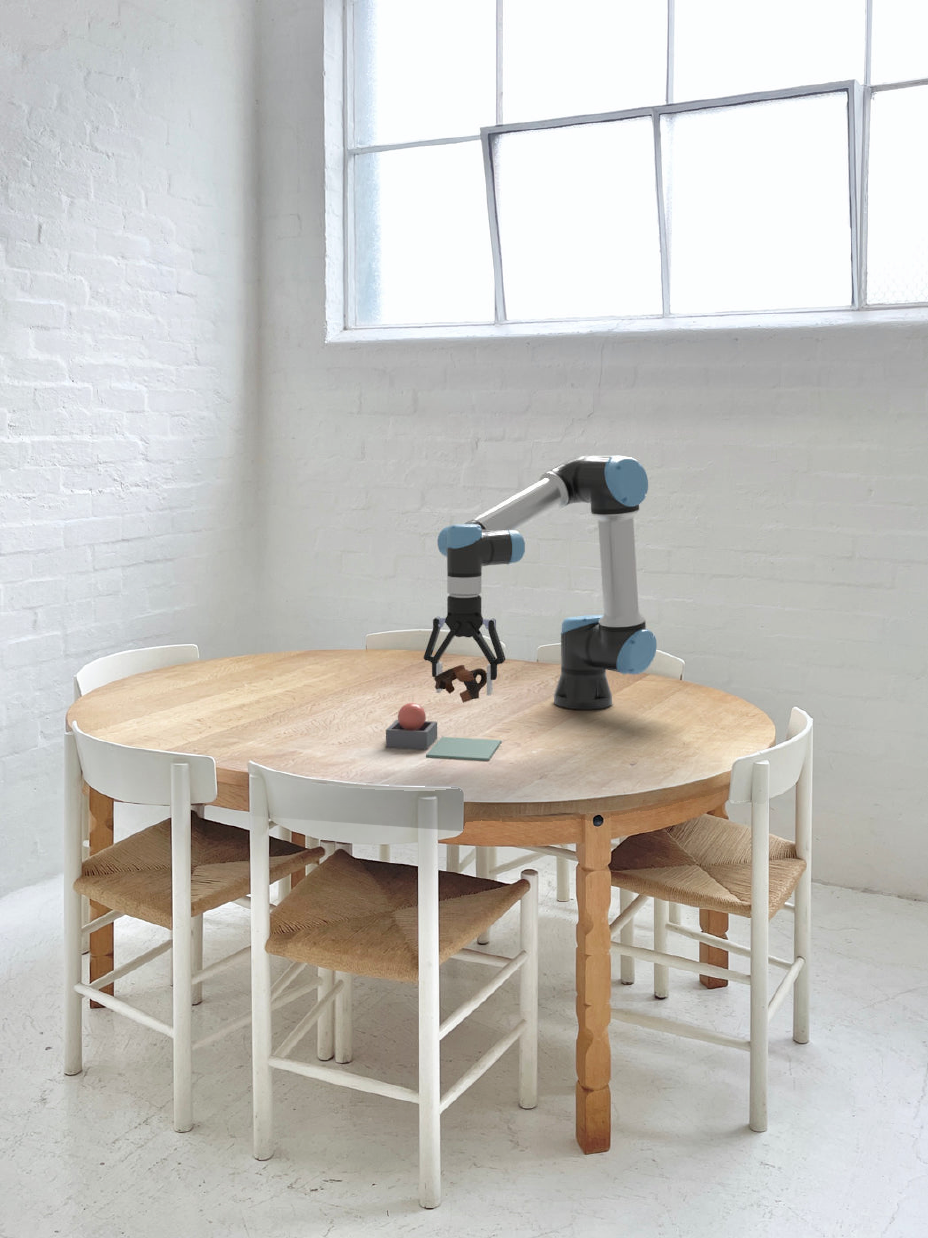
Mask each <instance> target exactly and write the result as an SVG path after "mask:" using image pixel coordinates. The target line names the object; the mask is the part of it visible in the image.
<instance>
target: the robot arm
mask: <svg viewBox="0 0 928 1238" xmlns="http://www.w3.org/2000/svg"><path fill="white" fill-rule="evenodd" d="M648 492H649V479H648V474H647V472H646V469H645V468H644V467H643V464H641V463H640V462H639V461H638V460H637V459H635V458H633V457H629V456H623V455H592V454H591V455H590V454H588V455H581V456H576V457H574V458H571V459H570V460H568V461H565V462H563V463H561V464H559V465H557V466H555V467H553V468H551V469H550V470H548V471H546V472H544V473H543V474H541V476H540V478H539V480H538V481H537V482H535V483H534V484H531V485H530V486H528V487H526V488H524V489H523V490H521V491H520V492H517V493H515V494H514V495H512V496H510V497H509V498H507V499H506V500H503V501H502V502H500V503H499V504H497V505H495V506H493V507H491V508H490V509H488V510H486V511H484V512H483V513H481V514H479V515H477V516H476V517H473V518H472V519H471V520H468V521H467V522H464V523H457V524H455V523H454V524H451V525H450V526H449V525H448V526H445V527H444V528H443V529H441V531H440V532H439V534H438V536H437V537H438V538H437V543H436V544H437V547H438V551H439V552H440V554H441V555H443V556H444V557H445V558H446V568H447V569H446V570H447V573H446V574H447V577H446V579H447V581H446V583H447V584H446V585H447V586H446V587H447V589H446V592H447V594H448V596H447V600H446V601H447V603H446V605H447V606H446V608H447V614H446V617H440V616H436V617H434V618H433V619H432V631H431V634H430V637H429V640H428V642H427V646H426V649H425V652H424V655H423V659H424V661H428V662H430V663H431V676H432V678H435V677H436V676H437V675H439V674H441V673H442V672H443V661H440V659H441V658H442V657H443V656H444V653H445V652H446V650H447V648H448V647H449V646H450V644H451V643H452V641H453V640H454V638H455V637H456V638H461V637H464V638H473V640H474V641H475V642H476V643H477V645H478V647H479V649H480V650H481V652H482V654H483V655H484V657H485V659H486V660H487V661H488V664H487V665H486V673H487V683H486V696H491V695H492V694H493V681H496V680H497V678H498V665H500V664H503V663H504V662H505V661H506V656H505V653H504V650H503V646H502V644H501V643H502V642H501V641H500V638H499V635H498V632H497V620H496V619H495V618H491V619H489V618H488V619H486V618H483V615H482V614H483V613H482V596H481V595H480V594H481V593H482V572H483V571H482V569H483V568H482V567H486V566H497V565H500V566H501V565H510V564H515V563H518V562H520V561H521V560H522V559H523V557H524V555H525V552H526V543H525V539H524V537H523V535H522V534H521V532H518V531H517V530H519V529H521V528H522V527H525V526H526V525H528V524H529V523H531V522H532V521H534V520H536V519H538V518H539V517H541V516H543V515H544V514H547V513H548V512H550V511H552V510H553V509H558V510H560V509H563V508H564V507H567V506H568V505H572V504H579V503H580V504H581V503H588V504H590V513H591V515H592V516H594V518H595V519H596V520H597V523H598V540H599V553H600V554H599V555H600V571H601V572H600V573H601V574H600V575H601V585H602V601H603V602H602V603H603V614H593V615H591V614H589V615H579V616H570V617H567V618H565V619H563V621H562V623H561V632H560V667H561V668H560V675H559V679H558V682H557V685H556V687H555V690H554V694H553V704H555V705H556V706H557V707H561V708H566V709H572V710H589V711H590V710H599V709H600V710H601V709H605V708H609V707H610V706H612V704H613V694H612V691H611V688H610V685H609V684H610V683H609V681H608V677H607V671H612V672H616V673H620V674H623V675H639V674H642V673H643V672H645V671H646V670H647V669H648V668H649V667H650V666H651V663H652V662H653V661H654V659H655V657H656V653H657V648H658V647H657V638H656V636H655V634H654V633H653V632H652V631H651V630H649V629H648V628H647V625H646V618H645V616H644V615H642V614H641V612H640V611H639V610H640V609H639V596H638V594H639V591H638V576H637V558H636V543H635V542H636V541H635V524H634V523H635V522H634V518H635V516H636V515H637V514H638V513H639V511H640V504H642V503H643V501H644V500H645V499H646V495H647V494H648ZM444 624H446V626H447V627H448V629H449V632H448V633H447V635H446V637H445V639H444V640H443V642H442V643H441V644H440V646H439V648H438V649H437V650H436V652H435V654H434V655H433V653H434V650H435V647H436V643H437V641H438V638H439V634H440V632H441V628H442V627H444ZM482 626H485V630H487V631H488V634H489V638H490V641H491V644H492V647H493V649H494V652H495V654H494V653H493V651H492V649H491V648H490V646H489V644H488V643H487V641H486V639H485V638H484V636H483V634H482V632H481V630H480V628H482ZM495 655H496V656H495ZM435 690H436V694H440V693H441V692H442V691H443V690H444V689H436V688H435Z"/></svg>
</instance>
